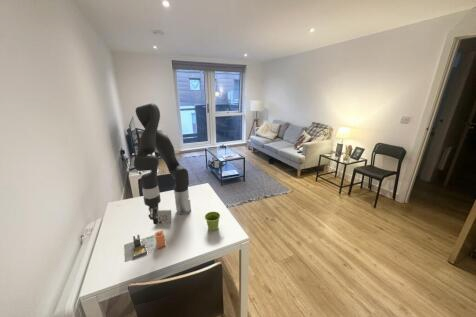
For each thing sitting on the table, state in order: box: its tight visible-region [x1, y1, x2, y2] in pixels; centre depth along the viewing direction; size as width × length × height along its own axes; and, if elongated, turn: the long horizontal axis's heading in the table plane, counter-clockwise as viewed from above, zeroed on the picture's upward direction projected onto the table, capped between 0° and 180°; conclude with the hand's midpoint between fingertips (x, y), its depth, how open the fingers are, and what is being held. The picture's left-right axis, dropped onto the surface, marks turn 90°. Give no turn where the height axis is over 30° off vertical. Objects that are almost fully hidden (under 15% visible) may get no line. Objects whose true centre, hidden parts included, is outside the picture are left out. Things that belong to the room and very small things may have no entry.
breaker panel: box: [123, 234, 168, 263], centre depth 107 cm, size 20×13×3 cm, turn 120°
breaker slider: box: [132, 234, 141, 247], centre depth 107 cm, size 3×4×5 cm
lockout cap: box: [154, 230, 167, 248], centre depth 106 cm, size 4×4×8 cm
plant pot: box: [204, 211, 221, 232], centre depth 121 cm, size 9×9×9 cm
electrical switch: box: [158, 209, 172, 224], centre depth 126 cm, size 9×5×9 cm, turn 90°
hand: (156, 223), depth 103 cm, fingers closed
